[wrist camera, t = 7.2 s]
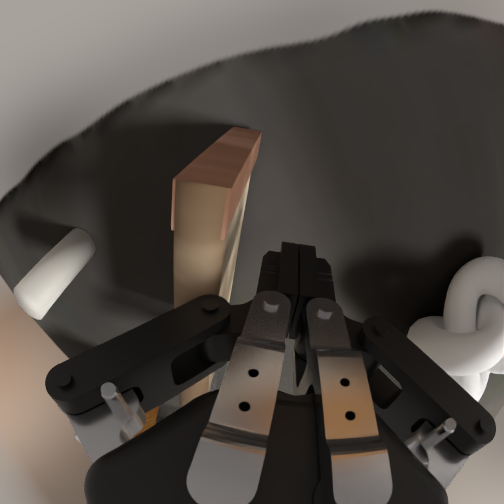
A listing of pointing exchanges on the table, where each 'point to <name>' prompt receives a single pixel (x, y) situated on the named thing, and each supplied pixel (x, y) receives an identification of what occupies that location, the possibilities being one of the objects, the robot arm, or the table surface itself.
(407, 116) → the table surface
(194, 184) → the brown flat block
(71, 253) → the post
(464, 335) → the white decorative knot
